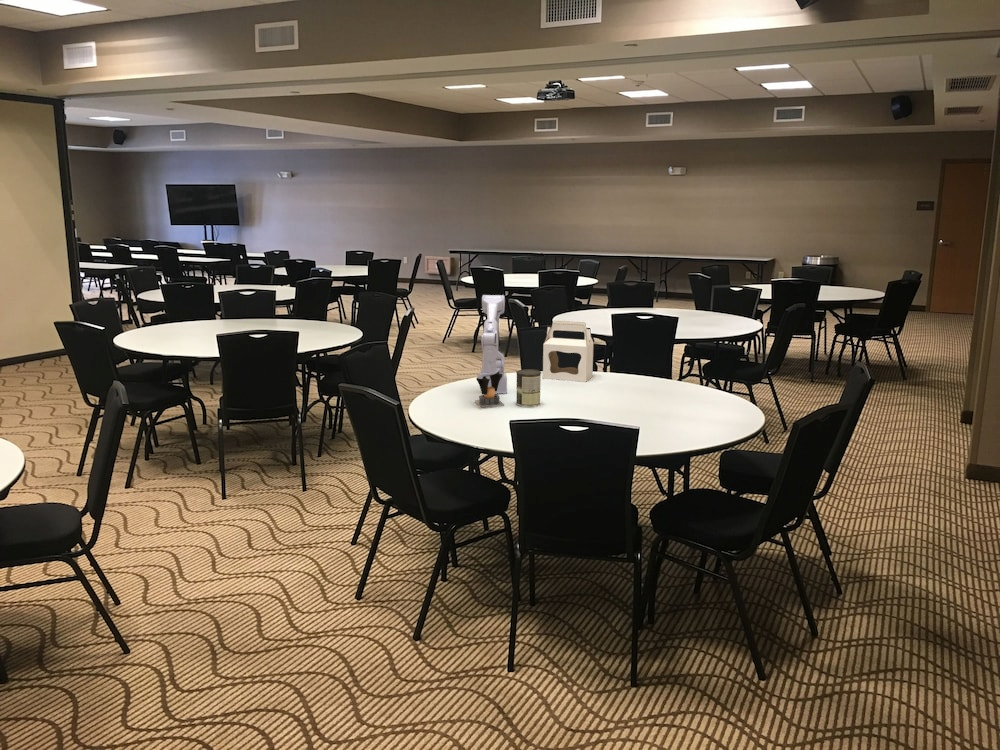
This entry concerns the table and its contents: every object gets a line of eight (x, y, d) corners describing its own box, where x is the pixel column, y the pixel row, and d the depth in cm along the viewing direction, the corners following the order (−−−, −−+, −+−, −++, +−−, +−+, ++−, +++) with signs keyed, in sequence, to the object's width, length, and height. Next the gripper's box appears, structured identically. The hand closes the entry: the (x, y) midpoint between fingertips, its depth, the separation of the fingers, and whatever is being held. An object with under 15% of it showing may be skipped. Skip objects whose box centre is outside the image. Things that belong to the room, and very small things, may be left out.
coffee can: (511, 404, 323) (511, 372, 321) (524, 400, 332) (525, 368, 329) (531, 408, 318) (532, 375, 315) (545, 403, 326) (545, 371, 323)
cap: (489, 400, 327) (489, 385, 325) (496, 402, 324) (496, 387, 322) (481, 402, 324) (481, 387, 322) (488, 404, 320) (489, 389, 319)
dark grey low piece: (497, 401, 330) (497, 393, 329) (504, 406, 321) (504, 398, 320) (474, 402, 327) (474, 394, 326) (481, 408, 318) (481, 399, 317)
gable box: (542, 378, 376) (543, 322, 370) (549, 373, 388) (550, 318, 382) (586, 382, 368) (588, 324, 362) (592, 377, 380) (594, 321, 374)
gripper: (491, 357, 328) (491, 388, 331) (471, 362, 316) (471, 394, 319) (505, 358, 324) (504, 390, 327) (485, 364, 312) (485, 396, 315)
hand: (489, 392), depth 323 cm, fingers open, 7 cm apart
